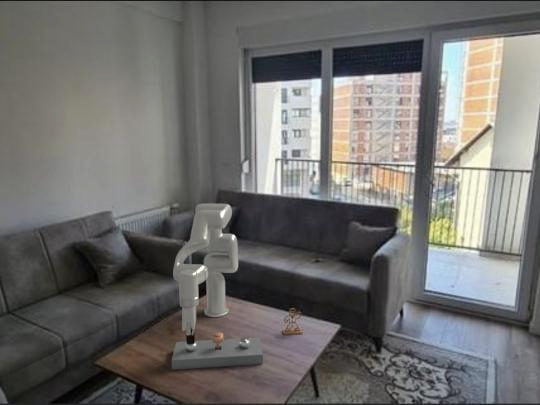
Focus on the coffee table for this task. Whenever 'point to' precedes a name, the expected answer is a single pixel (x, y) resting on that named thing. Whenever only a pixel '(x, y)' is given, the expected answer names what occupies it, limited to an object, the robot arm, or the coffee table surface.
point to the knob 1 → (191, 347)
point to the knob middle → (217, 339)
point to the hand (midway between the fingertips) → (190, 342)
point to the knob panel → (217, 354)
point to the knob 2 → (244, 343)
